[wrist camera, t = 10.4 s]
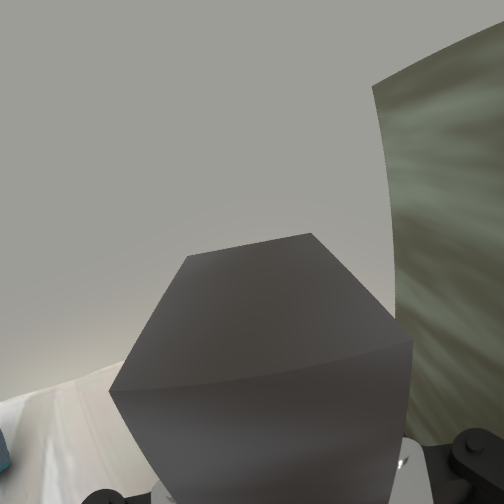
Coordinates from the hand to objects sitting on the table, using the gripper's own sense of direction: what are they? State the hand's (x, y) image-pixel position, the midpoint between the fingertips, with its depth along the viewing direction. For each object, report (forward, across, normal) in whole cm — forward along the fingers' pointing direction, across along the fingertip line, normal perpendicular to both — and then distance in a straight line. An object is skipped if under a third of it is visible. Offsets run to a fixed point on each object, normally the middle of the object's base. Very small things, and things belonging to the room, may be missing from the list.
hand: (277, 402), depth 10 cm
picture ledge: (-3, -3, +14) cm, 14 cm away
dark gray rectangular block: (-3, 0, +8) cm, 8 cm away
